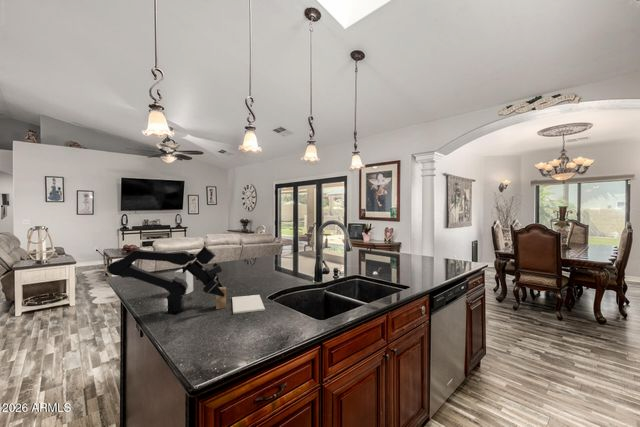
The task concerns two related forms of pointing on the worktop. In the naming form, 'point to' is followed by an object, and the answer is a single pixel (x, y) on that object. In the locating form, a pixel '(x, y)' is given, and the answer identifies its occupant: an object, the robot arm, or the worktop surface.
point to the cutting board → (247, 304)
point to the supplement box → (185, 279)
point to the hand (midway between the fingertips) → (224, 292)
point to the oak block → (221, 299)
